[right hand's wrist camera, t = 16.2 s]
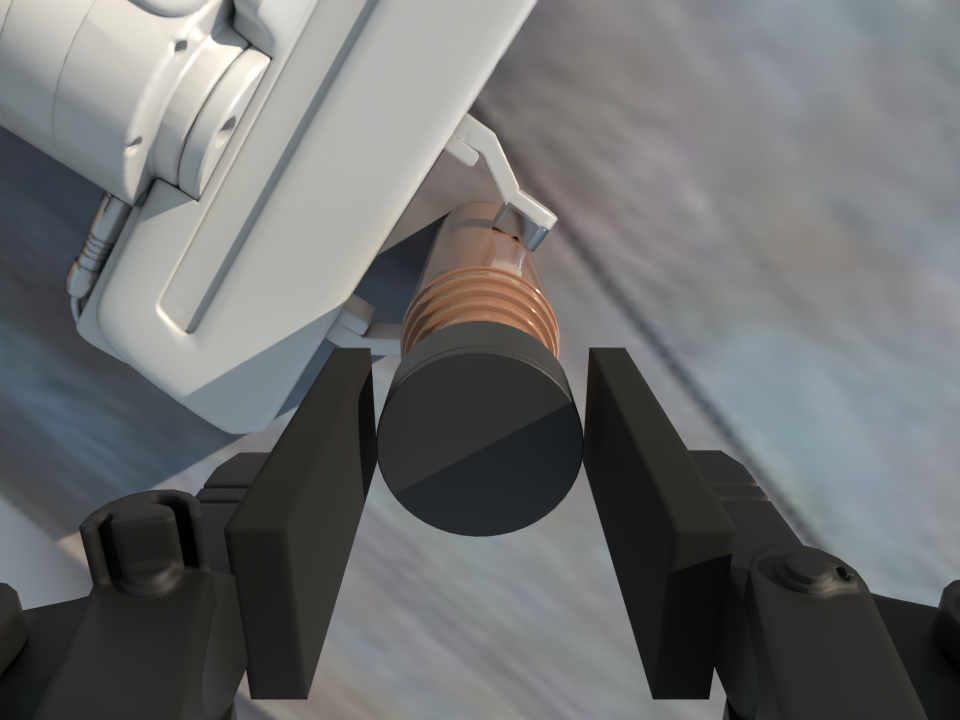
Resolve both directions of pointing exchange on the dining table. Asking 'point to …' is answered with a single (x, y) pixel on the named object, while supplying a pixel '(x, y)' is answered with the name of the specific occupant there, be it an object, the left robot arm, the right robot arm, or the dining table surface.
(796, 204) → the dining table surface
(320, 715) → the dining table surface
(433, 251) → the bottle
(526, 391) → the cap
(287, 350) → the left robot arm
